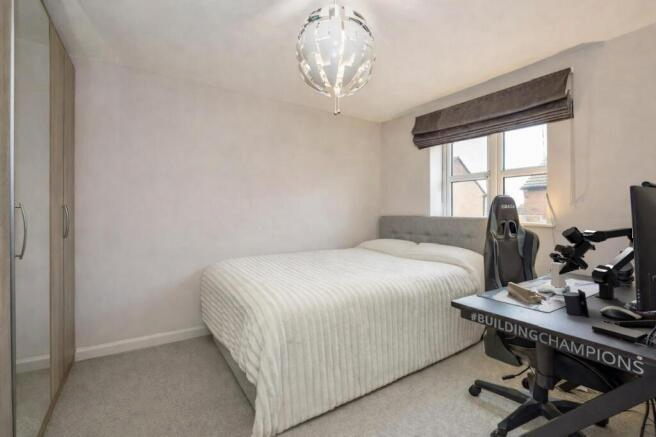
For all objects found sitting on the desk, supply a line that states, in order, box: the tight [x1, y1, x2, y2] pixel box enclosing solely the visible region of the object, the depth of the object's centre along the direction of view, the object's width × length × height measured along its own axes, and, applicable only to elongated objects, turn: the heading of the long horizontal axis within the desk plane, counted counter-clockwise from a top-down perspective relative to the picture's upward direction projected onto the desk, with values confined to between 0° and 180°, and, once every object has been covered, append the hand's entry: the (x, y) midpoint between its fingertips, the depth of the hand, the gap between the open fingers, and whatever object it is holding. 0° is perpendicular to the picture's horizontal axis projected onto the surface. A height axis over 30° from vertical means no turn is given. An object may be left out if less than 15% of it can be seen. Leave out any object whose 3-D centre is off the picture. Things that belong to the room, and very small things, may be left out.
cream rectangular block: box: [550, 261, 566, 289], centre depth 147 cm, size 3×6×12 cm, turn 178°
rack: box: [507, 281, 547, 304], centre depth 147 cm, size 12×16×6 cm
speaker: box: [562, 288, 590, 319], centre depth 124 cm, size 8×6×10 cm
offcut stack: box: [523, 286, 537, 296], centre depth 148 cm, size 4×10×4 cm, turn 177°
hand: (555, 272), depth 147 cm, fingers closed on cream rectangular block, 5 cm apart
